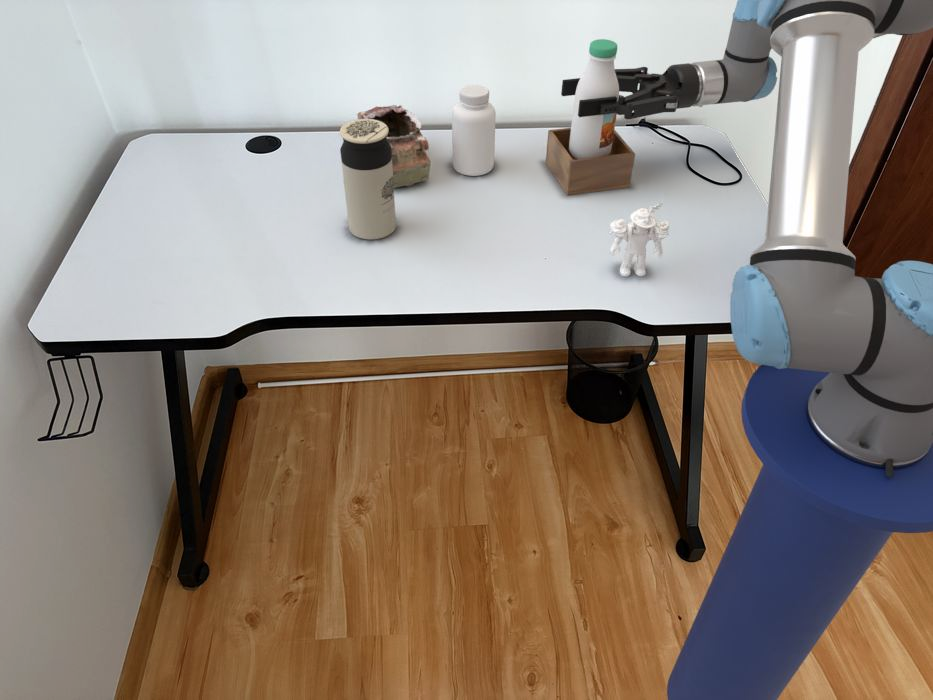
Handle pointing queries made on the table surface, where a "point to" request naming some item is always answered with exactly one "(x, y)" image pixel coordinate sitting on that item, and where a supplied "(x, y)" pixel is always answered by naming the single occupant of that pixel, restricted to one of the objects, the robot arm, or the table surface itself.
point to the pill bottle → (473, 131)
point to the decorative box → (403, 143)
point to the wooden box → (588, 165)
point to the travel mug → (368, 178)
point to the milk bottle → (596, 82)
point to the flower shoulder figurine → (638, 238)
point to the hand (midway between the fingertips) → (571, 98)
